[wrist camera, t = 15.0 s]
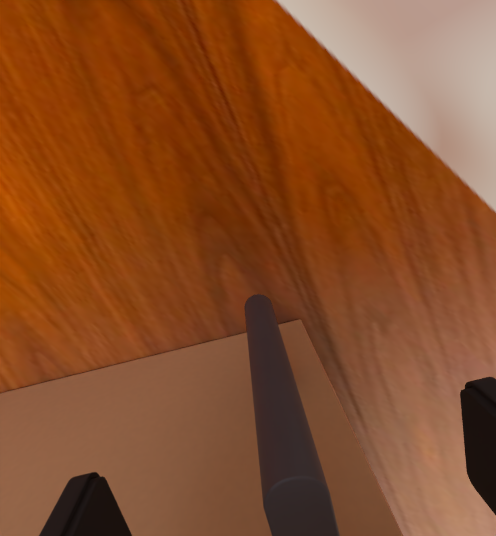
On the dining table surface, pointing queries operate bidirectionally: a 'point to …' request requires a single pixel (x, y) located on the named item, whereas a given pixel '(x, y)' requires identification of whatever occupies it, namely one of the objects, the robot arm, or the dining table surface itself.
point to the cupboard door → (197, 442)
